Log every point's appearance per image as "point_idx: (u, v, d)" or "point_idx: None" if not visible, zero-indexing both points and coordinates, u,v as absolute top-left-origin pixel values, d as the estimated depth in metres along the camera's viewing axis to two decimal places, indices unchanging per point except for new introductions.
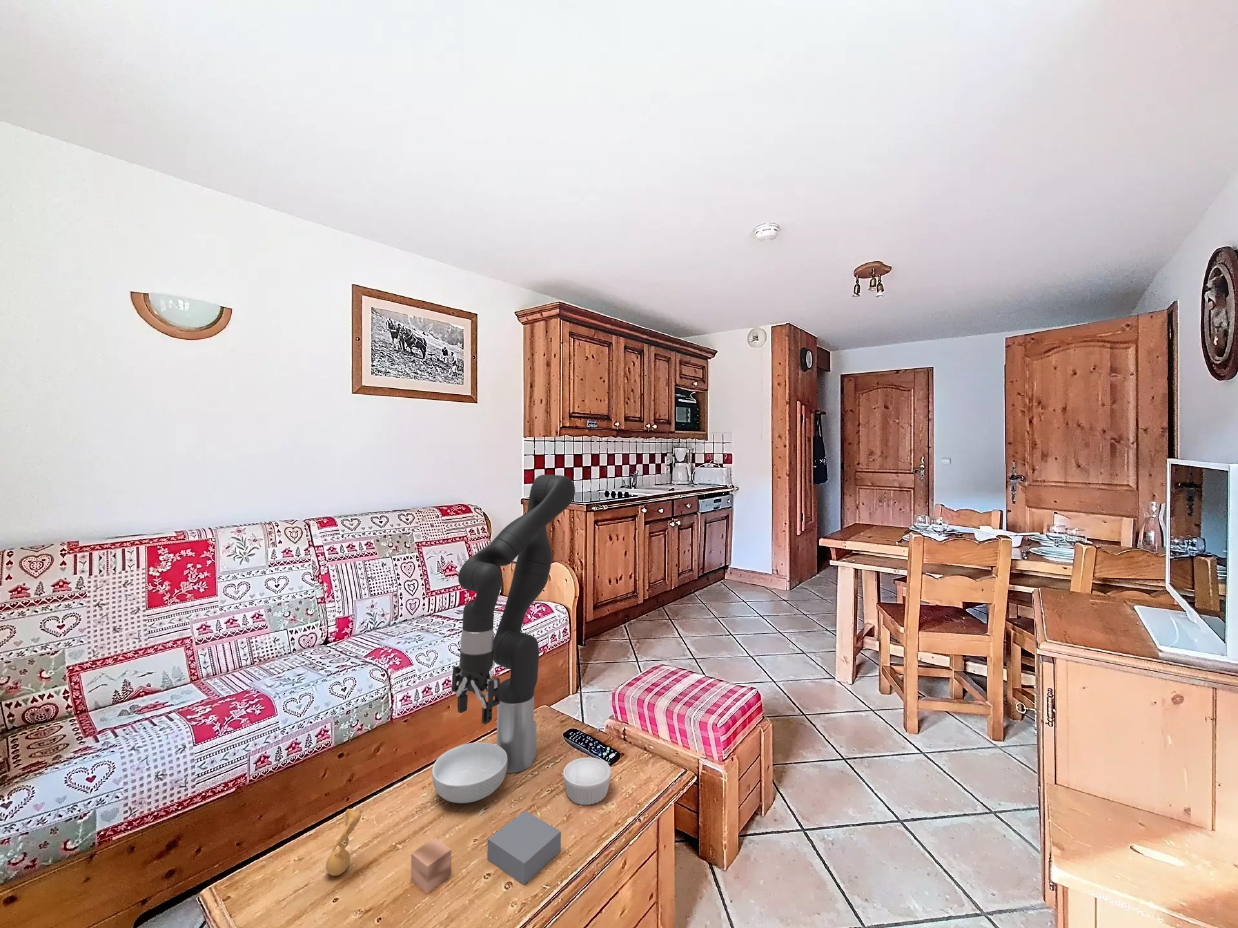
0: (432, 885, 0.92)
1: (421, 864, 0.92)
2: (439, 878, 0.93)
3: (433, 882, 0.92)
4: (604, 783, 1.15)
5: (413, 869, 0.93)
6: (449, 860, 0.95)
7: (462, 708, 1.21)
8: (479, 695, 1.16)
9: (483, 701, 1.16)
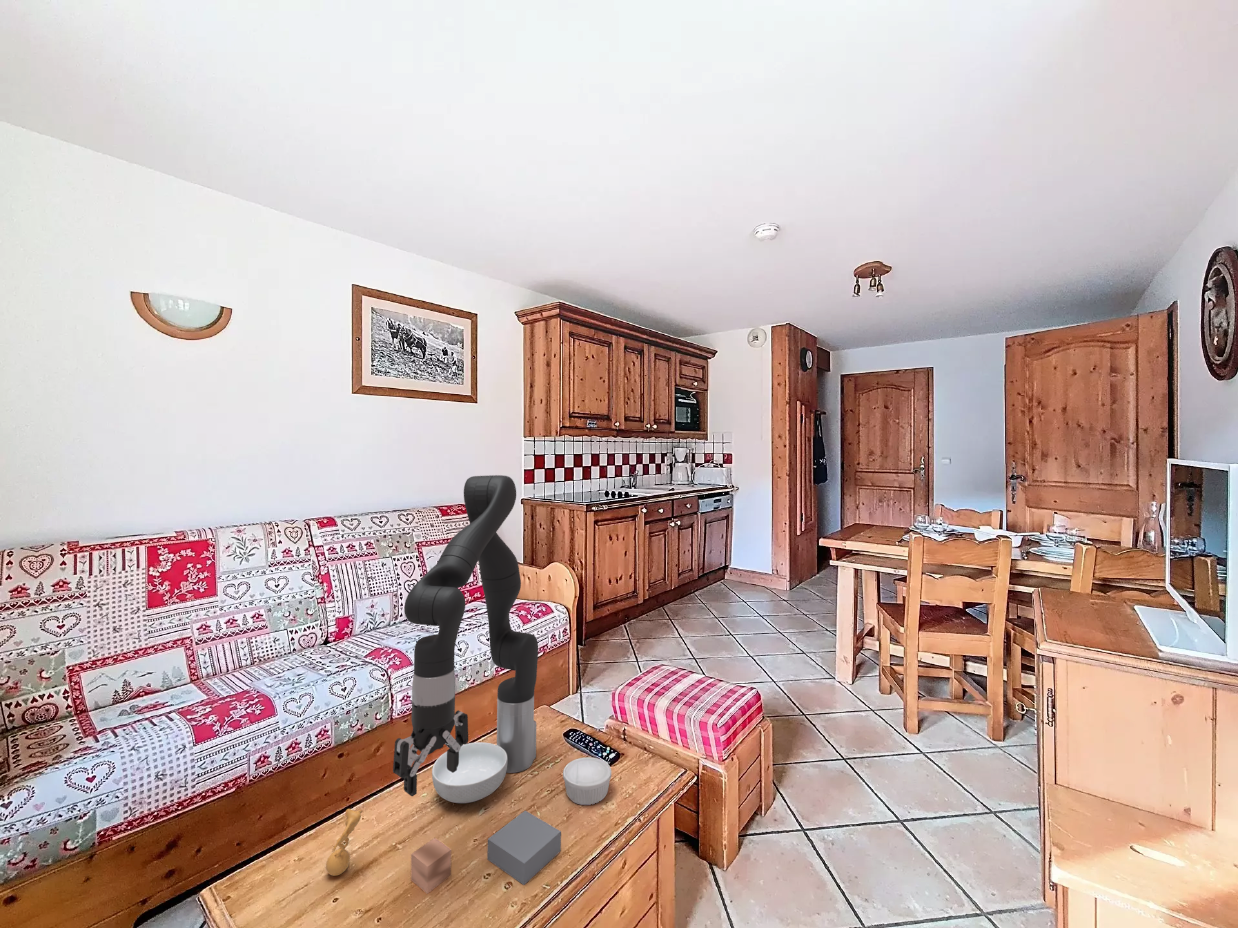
0: (432, 885, 0.92)
1: (421, 864, 0.92)
2: (439, 878, 0.93)
3: (433, 882, 0.92)
4: (604, 783, 1.15)
5: (413, 870, 0.93)
6: (449, 860, 0.95)
7: None
8: (454, 741, 0.96)
9: (456, 745, 0.97)
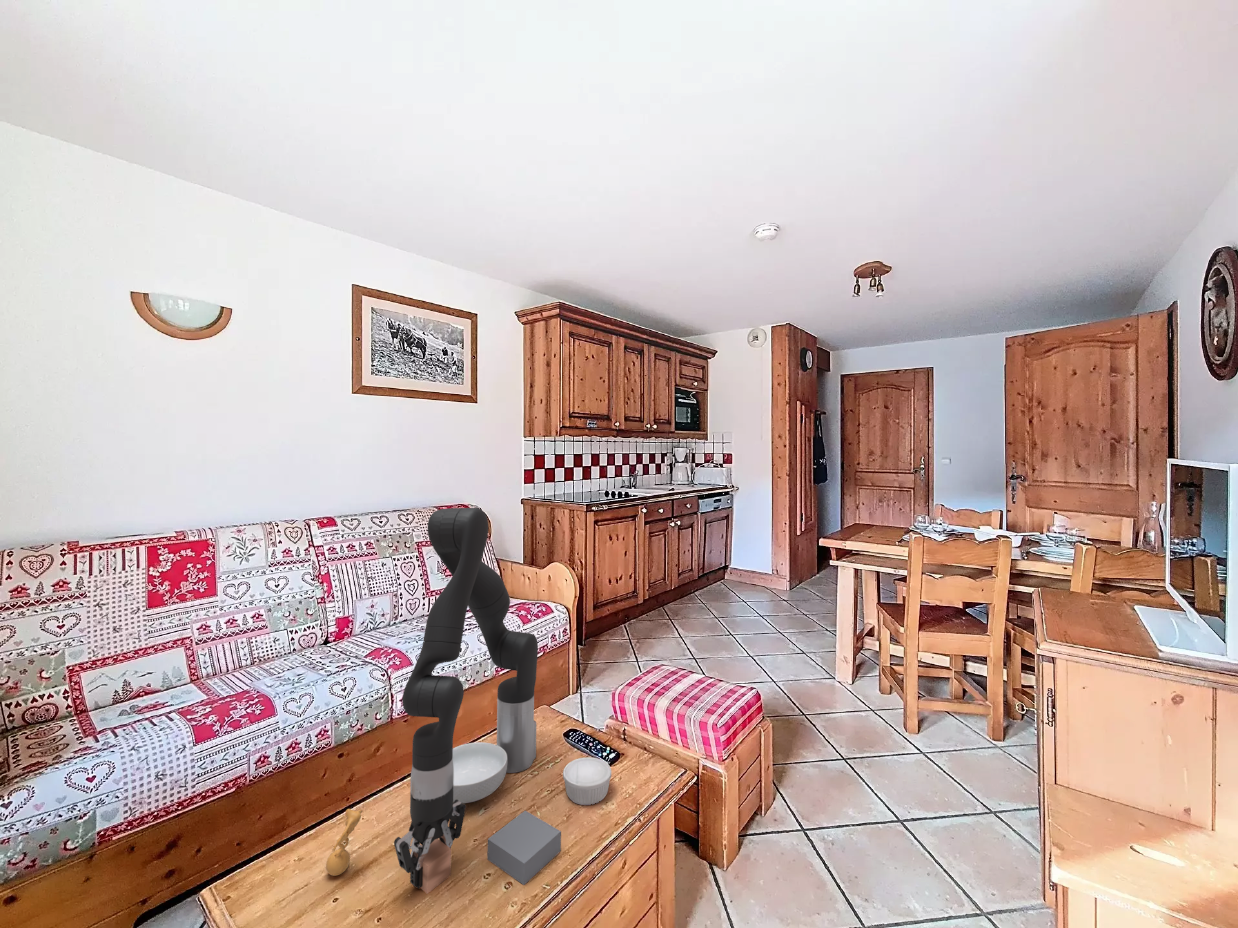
0: (432, 884, 0.92)
1: None
2: (439, 877, 0.93)
3: (433, 882, 0.92)
4: (604, 783, 1.15)
5: None
6: (449, 859, 0.95)
7: None
8: (449, 834, 0.95)
9: (449, 839, 0.96)
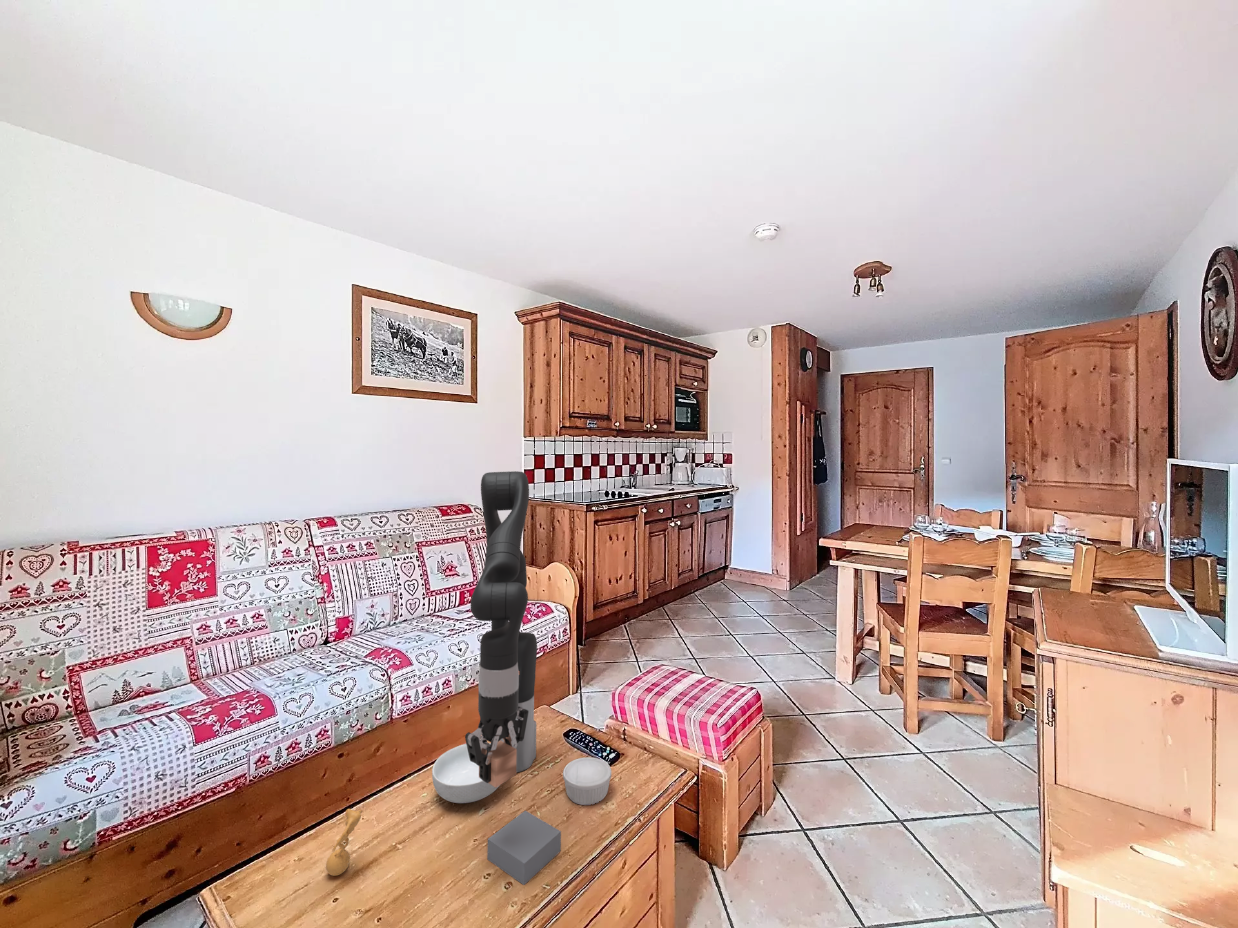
0: (500, 780, 0.96)
1: None
2: (506, 774, 0.97)
3: (501, 777, 0.96)
4: (604, 783, 1.15)
5: None
6: (515, 759, 0.98)
7: None
8: (514, 735, 0.99)
9: (514, 741, 1.00)
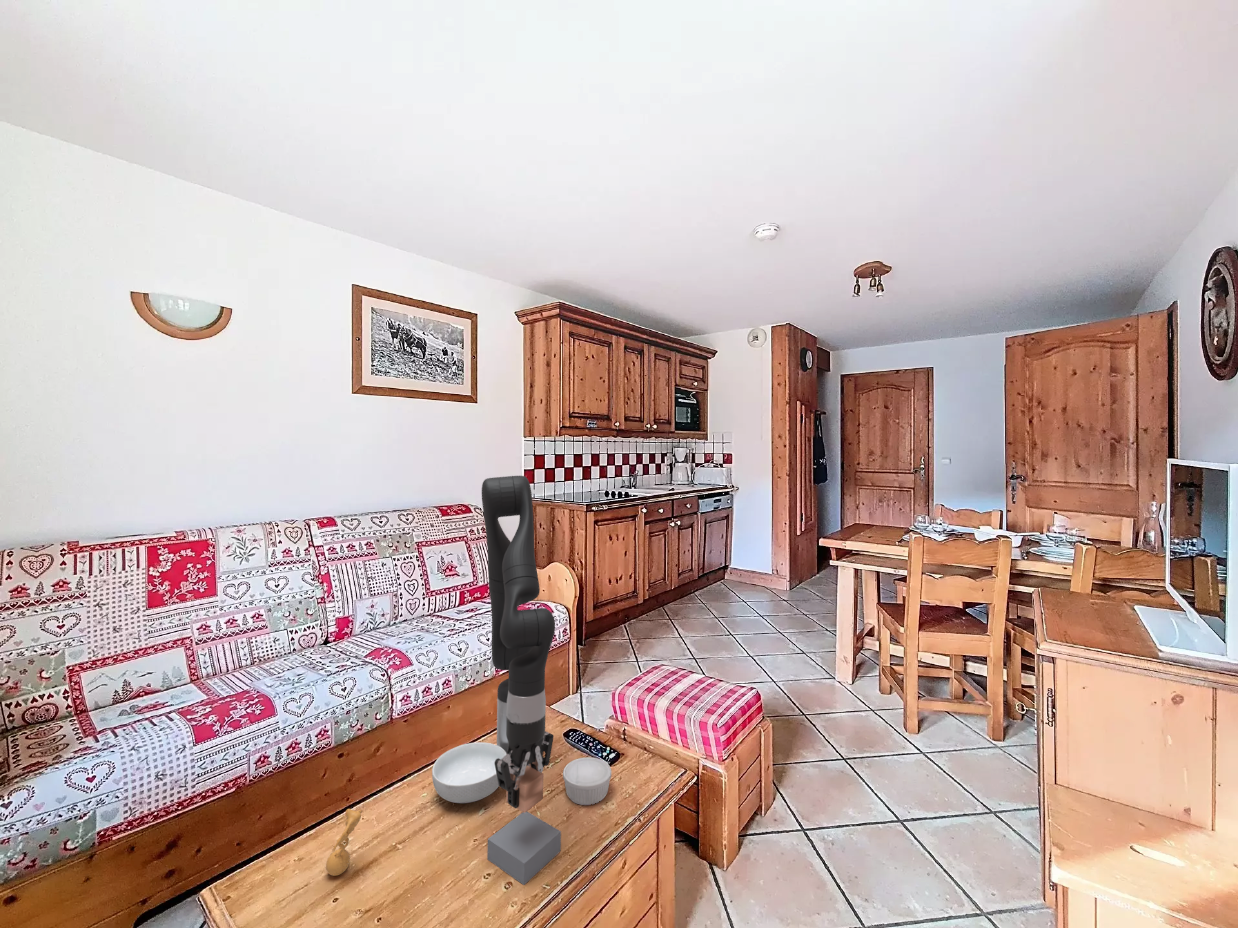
0: (528, 805, 0.97)
1: None
2: (534, 799, 0.98)
3: (529, 802, 0.97)
4: (604, 783, 1.15)
5: None
6: (541, 784, 1.00)
7: None
8: (540, 760, 1.01)
9: (540, 765, 1.02)
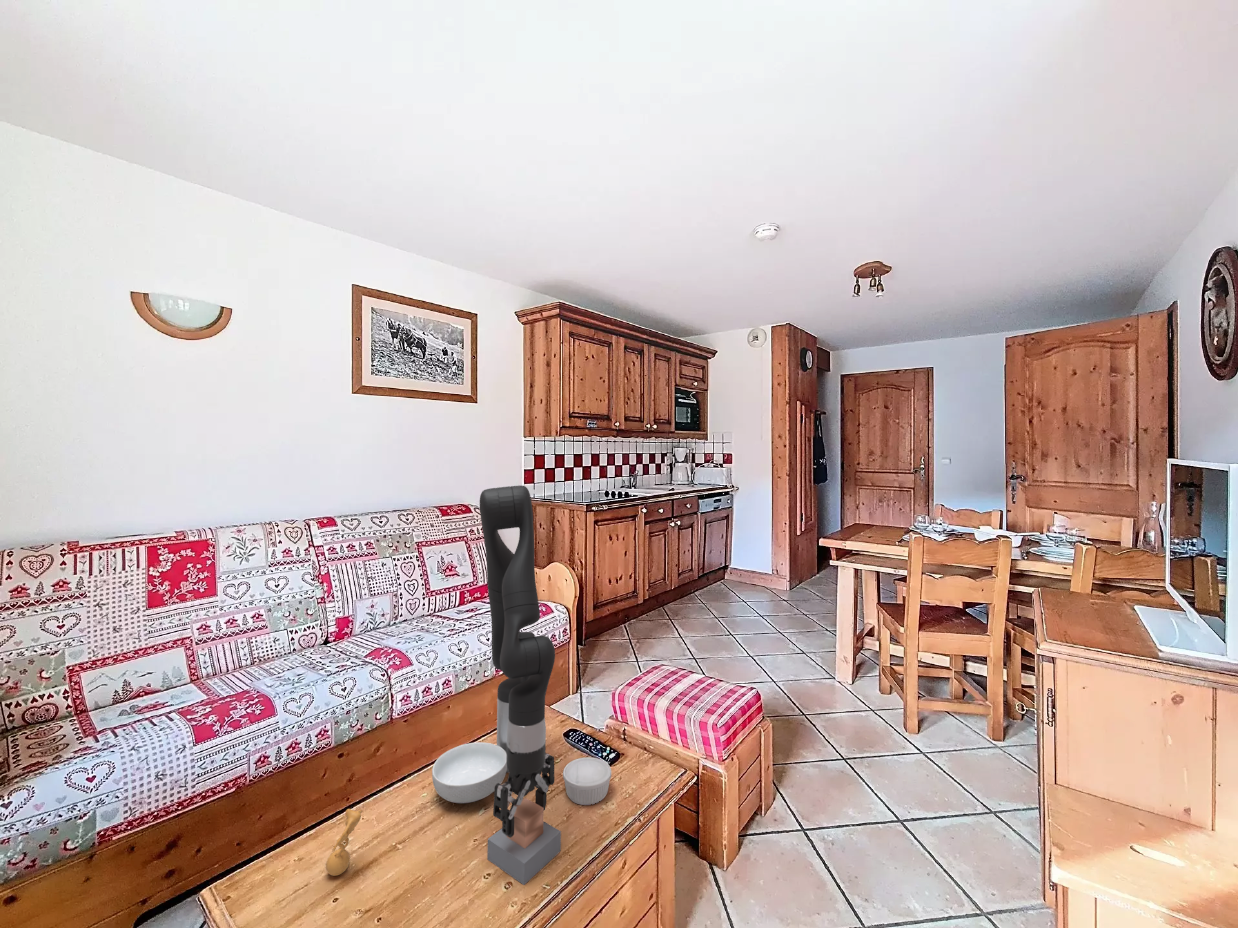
0: (529, 840, 0.97)
1: (518, 820, 0.97)
2: (534, 834, 0.99)
3: (529, 838, 0.98)
4: (604, 783, 1.15)
5: None
6: (542, 818, 1.00)
7: None
8: (544, 783, 1.02)
9: (545, 786, 1.03)
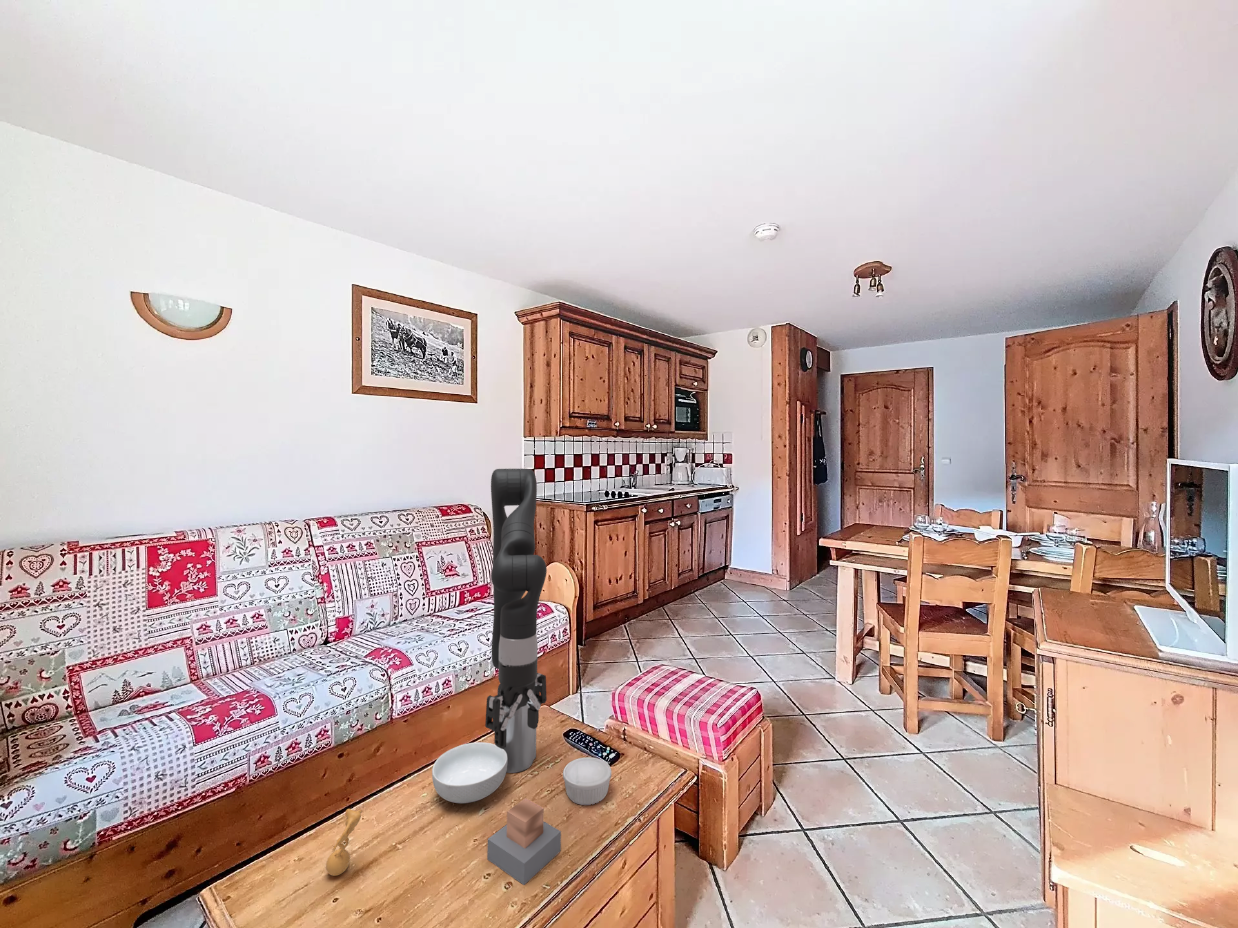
0: (529, 840, 0.97)
1: (518, 820, 0.97)
2: (534, 834, 0.99)
3: (529, 838, 0.98)
4: (604, 783, 1.15)
5: (509, 826, 0.99)
6: (542, 818, 1.00)
7: None
8: (536, 699, 1.03)
9: (537, 703, 1.04)
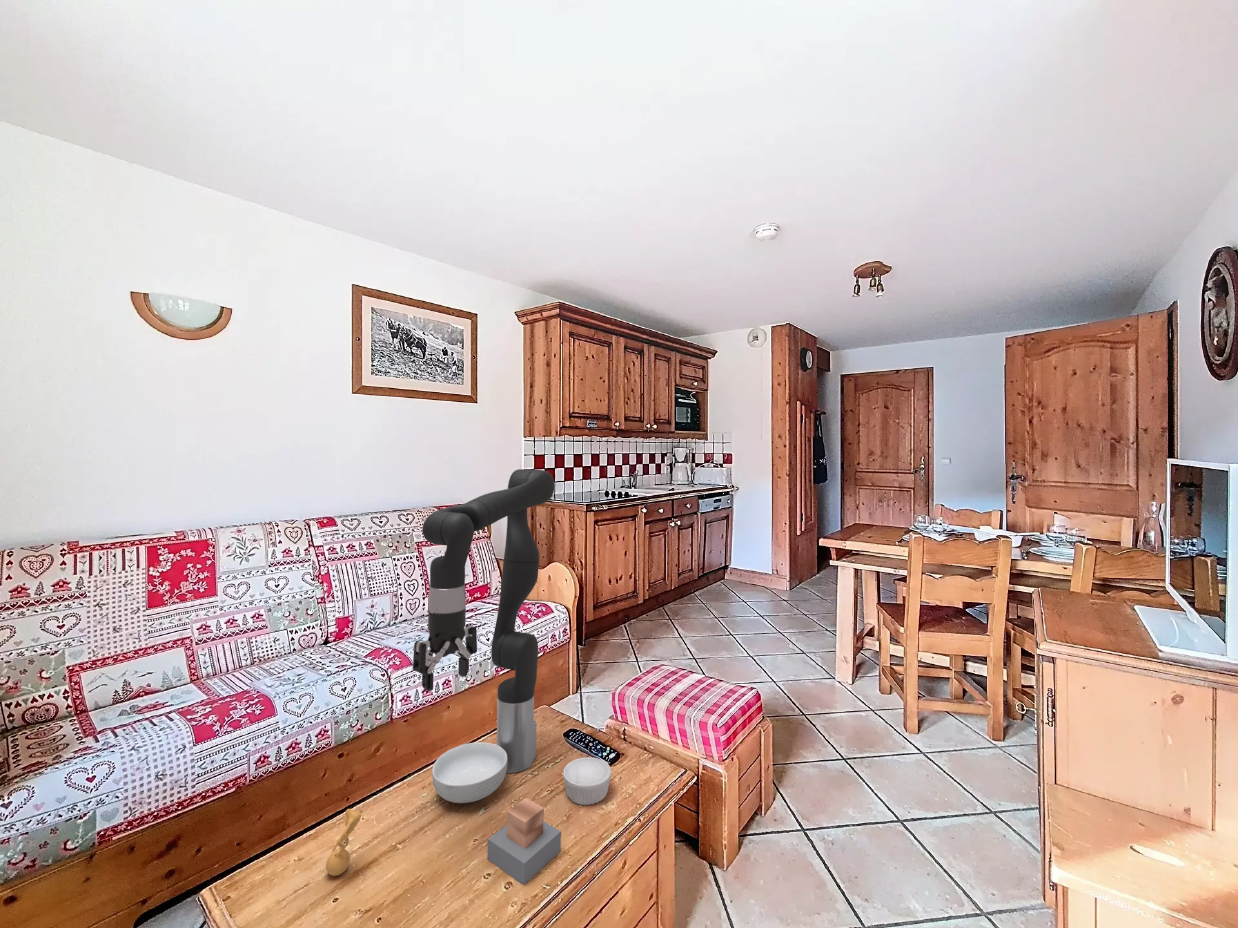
0: (529, 840, 0.97)
1: (518, 820, 0.97)
2: (534, 834, 0.99)
3: (529, 838, 0.98)
4: (604, 783, 1.15)
5: (509, 826, 0.99)
6: (542, 818, 1.00)
7: None
8: (465, 648, 1.10)
9: (466, 652, 1.11)
